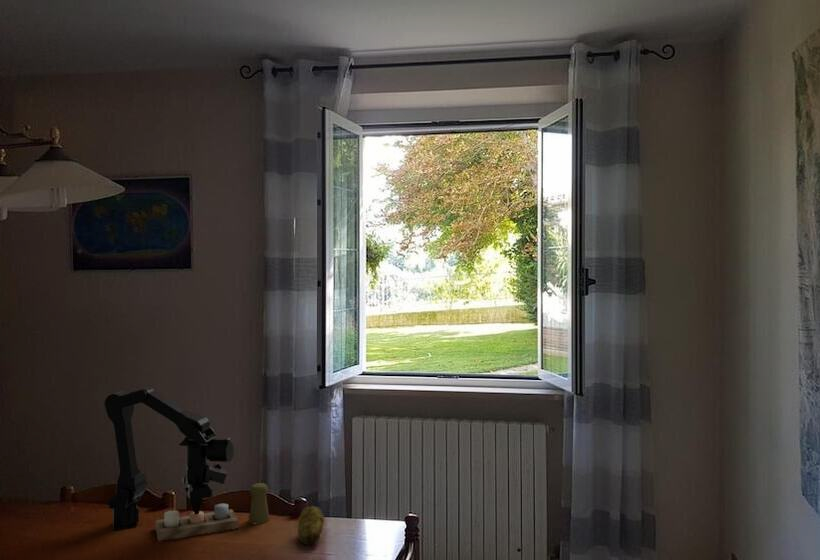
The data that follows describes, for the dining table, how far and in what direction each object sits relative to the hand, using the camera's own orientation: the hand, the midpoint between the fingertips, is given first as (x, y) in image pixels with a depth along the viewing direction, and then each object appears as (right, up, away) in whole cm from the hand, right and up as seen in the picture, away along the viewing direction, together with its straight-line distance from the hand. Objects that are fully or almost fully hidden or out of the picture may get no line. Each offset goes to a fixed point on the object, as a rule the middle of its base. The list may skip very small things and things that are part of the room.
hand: (196, 513), depth 192 cm
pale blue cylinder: (+6, -3, +3) cm, 8 cm away
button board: (0, -4, 0) cm, 4 cm away
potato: (+34, -5, -7) cm, 35 cm away
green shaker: (+17, -5, +7) cm, 19 cm away
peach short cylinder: (0, -4, 0) cm, 4 cm away
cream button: (-6, -3, -3) cm, 8 cm away
